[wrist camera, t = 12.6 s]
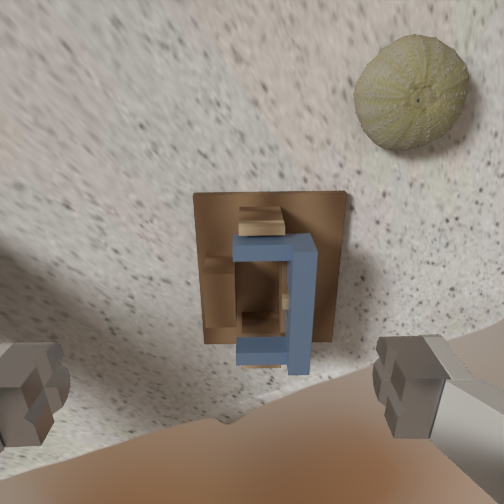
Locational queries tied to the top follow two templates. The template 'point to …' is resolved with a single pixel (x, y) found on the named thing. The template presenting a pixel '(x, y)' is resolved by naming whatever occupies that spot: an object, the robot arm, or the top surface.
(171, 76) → the top surface
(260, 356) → the blue stepped bracket
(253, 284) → the stand
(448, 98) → the sea urchin shell
